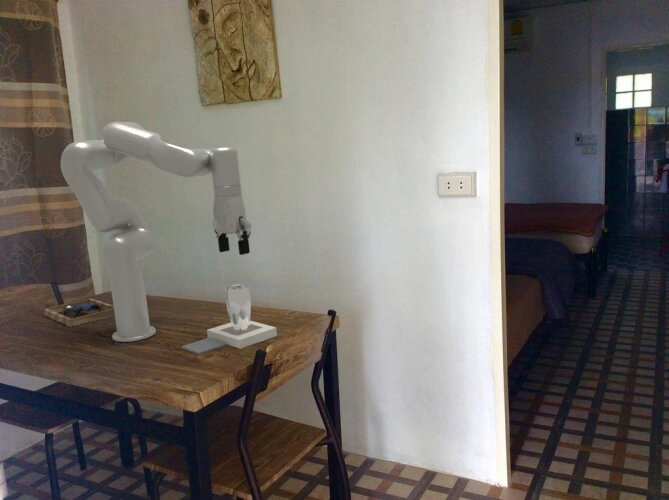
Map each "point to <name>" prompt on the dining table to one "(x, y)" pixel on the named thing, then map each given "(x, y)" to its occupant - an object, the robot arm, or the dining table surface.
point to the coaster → (204, 346)
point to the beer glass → (239, 308)
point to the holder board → (256, 335)
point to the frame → (107, 313)
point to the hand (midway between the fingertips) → (234, 252)
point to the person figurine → (82, 308)
